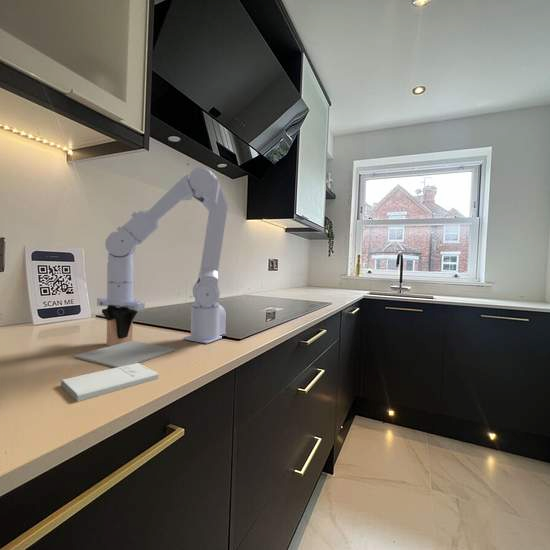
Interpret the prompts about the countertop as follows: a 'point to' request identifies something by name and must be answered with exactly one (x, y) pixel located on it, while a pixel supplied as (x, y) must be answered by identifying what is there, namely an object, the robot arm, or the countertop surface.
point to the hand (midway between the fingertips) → (119, 337)
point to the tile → (112, 334)
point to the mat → (125, 354)
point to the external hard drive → (107, 381)
